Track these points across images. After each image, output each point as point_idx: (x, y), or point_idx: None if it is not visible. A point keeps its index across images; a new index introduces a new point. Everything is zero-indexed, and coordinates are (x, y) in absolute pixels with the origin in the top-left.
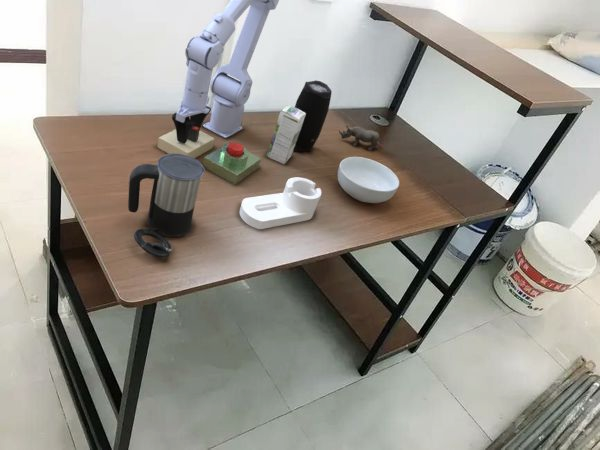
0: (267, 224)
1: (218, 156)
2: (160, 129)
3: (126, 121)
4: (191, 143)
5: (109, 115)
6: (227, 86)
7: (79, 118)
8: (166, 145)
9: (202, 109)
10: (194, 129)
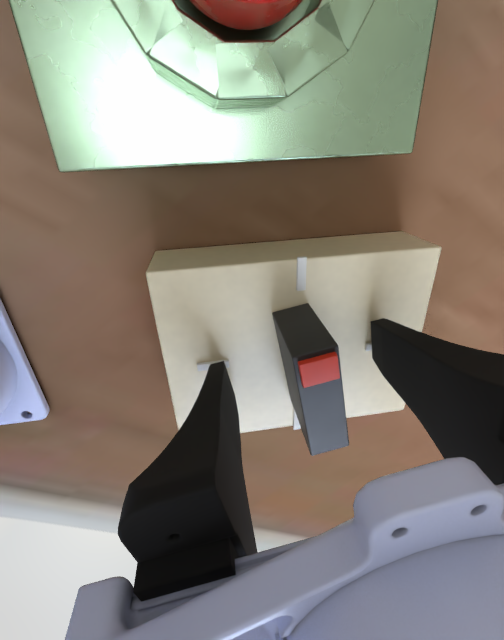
0: None
1: (332, 79)
2: (255, 452)
3: (312, 511)
4: (333, 305)
5: None
6: None
7: None
8: None
9: (482, 540)
10: (337, 366)
